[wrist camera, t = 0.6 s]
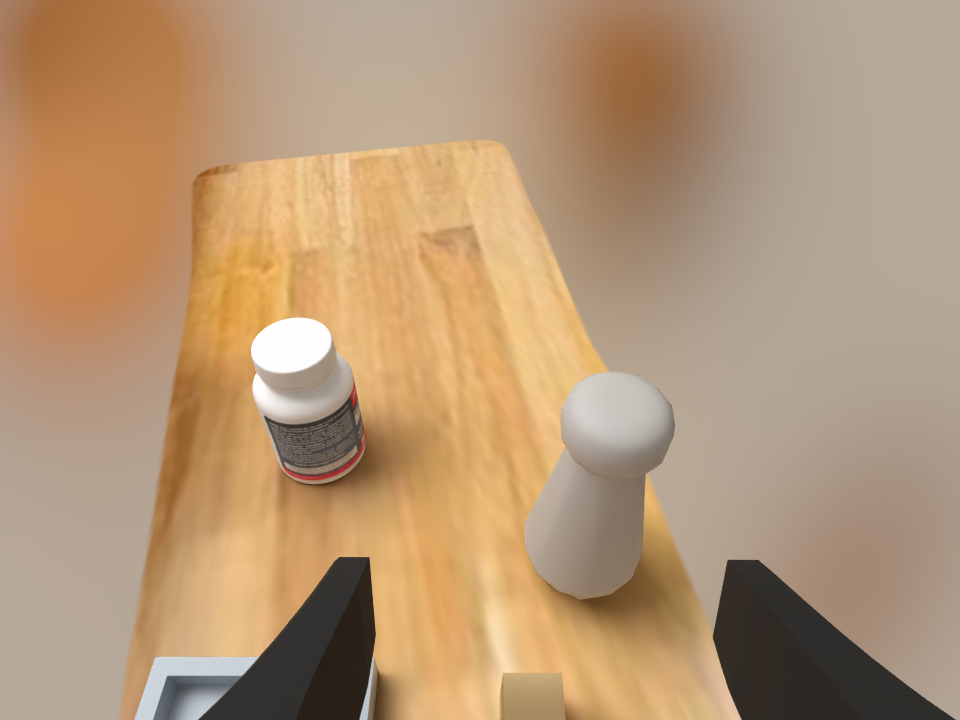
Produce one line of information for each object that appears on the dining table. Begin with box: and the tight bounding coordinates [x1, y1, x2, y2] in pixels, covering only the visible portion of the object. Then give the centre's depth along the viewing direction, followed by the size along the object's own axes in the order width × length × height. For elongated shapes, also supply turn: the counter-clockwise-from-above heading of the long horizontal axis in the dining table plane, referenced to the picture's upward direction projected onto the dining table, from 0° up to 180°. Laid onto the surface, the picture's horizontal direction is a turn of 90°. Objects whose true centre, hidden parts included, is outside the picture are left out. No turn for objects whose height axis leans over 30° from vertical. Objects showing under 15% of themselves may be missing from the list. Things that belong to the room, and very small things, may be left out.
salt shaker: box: [525, 372, 675, 600], centre depth 28 cm, size 6×6×13 cm
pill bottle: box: [251, 318, 366, 484], centre depth 34 cm, size 5×5×9 cm
